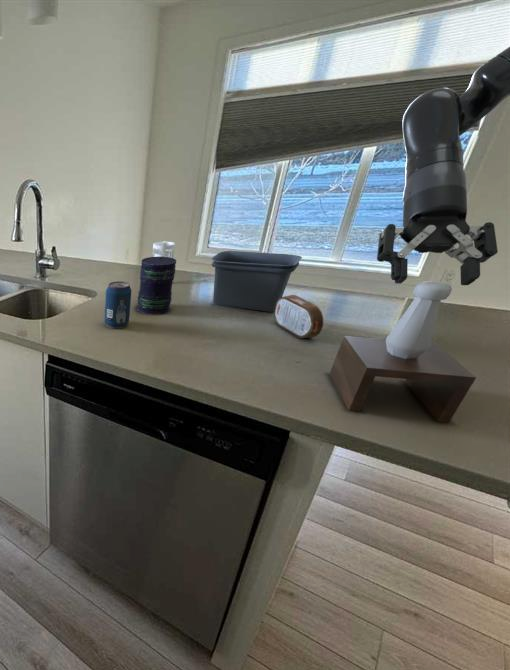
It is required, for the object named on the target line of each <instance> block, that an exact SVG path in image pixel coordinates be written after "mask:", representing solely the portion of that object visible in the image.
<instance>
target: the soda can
mask: <svg viewBox="0 0 510 670" xmlns="http://www.w3.org/2000/svg"><path fill="white" fill-rule="evenodd" d="M104 302H105V303H104V320H103V321H104V323H105V325H106V326H107V327H108V328H111V329H123V328H125V327H126V326H127V325H128V324H129V322H130V315H131V302H132V289H131V284H130V282H127V281H111V282H109V283H108V286H107V288H106V289H105V301H104Z"/></svg>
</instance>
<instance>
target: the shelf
mask: <svg viewBox="0 0 510 670" xmlns="http://www.w3.org/2000/svg"><path fill="white" fill-rule="evenodd" d="M329 377H330V378H331V380H332V382H333V384H334V386H335V388H336V389H337V392H338V394H339V395H340V397H341V399H342V400H343V402H344V404H345V406H346V407H347V409H348V411H352V412H360V411H361V409H362V407H363V405H364V403H365V400H366V398H367V396H368V393H369V391H370V389H371V386H372V385H373V382H374V380H375V378H376V377H380V378H391V379H400V380H404V383H405V384H406V385H407V387H408V388H409V389H410V390H411V392H412V393H413V394H414V395H415V396H416V397H417V398H418V400H419V401H420V402H421V403H422V404H423V406H424V407H425V408H426V409H427V411H428V412H429V413H430V415H432V417H433V418H434V419H435V420H436V421H437V422H441V423H450V422H451V421H452V419H453V417H454V415H455V414H456V412H457V410H458V409H459V407H460V405H461V404H462V402H463V400H464V399H465V397H466V395H467V393H468V392H469V390H470V388H471V387H472V386H473V384H474V382H475V380H476V379H477V377H476V375H474V374H473V373H472V372H470V371H469V370H468V369H467V368H466V367H465V366H464V365H463V364H462V363H461V362H459V361H458V360H457V359H456V358H455V357H453V356H452V355H451V354H450V353H449V352H448V351H446V350H445V349H444V347H442V346H441V345H440V344H439V343H437V342H436V341H432V343H431V346H430V347H429V348H428V350H426V351H425V352H424V353H423V354H421V355H420V356H419V357H418V358H410V359H405V358H401V357H397V356H393V355H391V354H390V353H389V352H388V351H387V346H386V338H381V337H367V336H353V335H344V336H343V337H342V340H341V343H340V345H339V349H338V351H337V353H336V355H335V359H334V360H333V364H332V366H331V369H330V370H329Z"/></svg>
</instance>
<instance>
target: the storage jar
mask: <svg viewBox="0 0 510 670" xmlns="http://www.w3.org/2000/svg"><path fill="white" fill-rule="evenodd" d="M140 264H141V265H140V269H139V270H140V271H139V274H140V275H139V281H140V283H139V290H138V293H137V294H138V295H137V306H136V310H137V311H138V312H140V313H142V314H147V315H163V314H166V313H168V312H170V309H171V307H170V306H171V303H172V299H173V298H172V295H173V291H172V290H173V282H174V280H175V275H176V267H177V266H176V264H177V259H176V258H174V257H173V258H170V257H167V256H166V257H152V256H149V257H144V258H142V259H141V263H140Z"/></svg>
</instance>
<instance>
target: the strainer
mask: <svg viewBox="0 0 510 670" xmlns="http://www.w3.org/2000/svg"><path fill="white" fill-rule="evenodd" d="M175 247H176V243H175V242H173V241H167V240H162V241H157V242H153V245H152V253H151V257H170V258H174V255H175Z"/></svg>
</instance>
